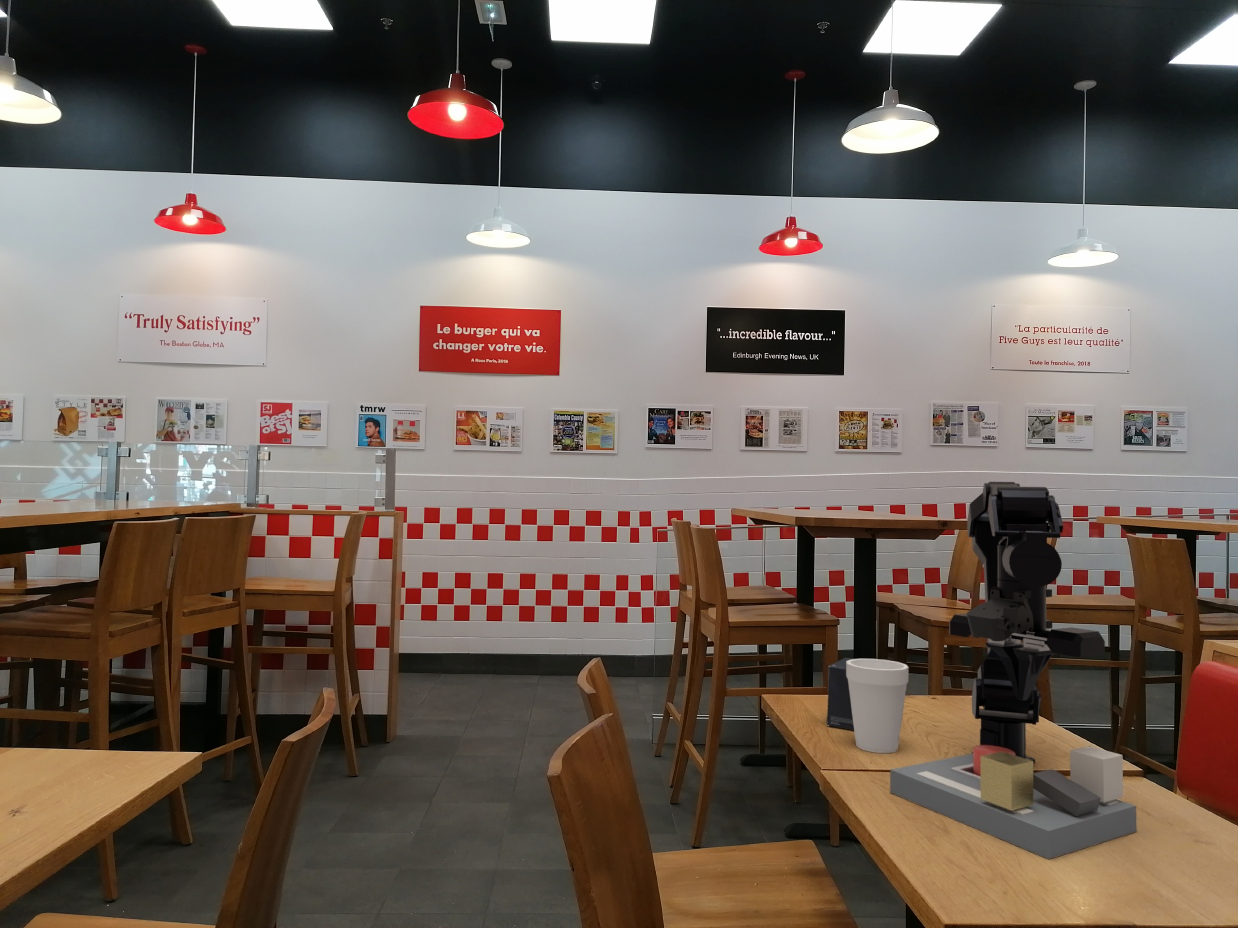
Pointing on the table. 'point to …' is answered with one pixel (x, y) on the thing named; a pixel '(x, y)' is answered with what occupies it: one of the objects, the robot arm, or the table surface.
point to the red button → (985, 750)
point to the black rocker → (1065, 792)
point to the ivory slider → (1098, 772)
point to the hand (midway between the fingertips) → (1022, 699)
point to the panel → (1029, 827)
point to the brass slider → (1007, 780)
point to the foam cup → (877, 702)
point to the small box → (839, 696)
